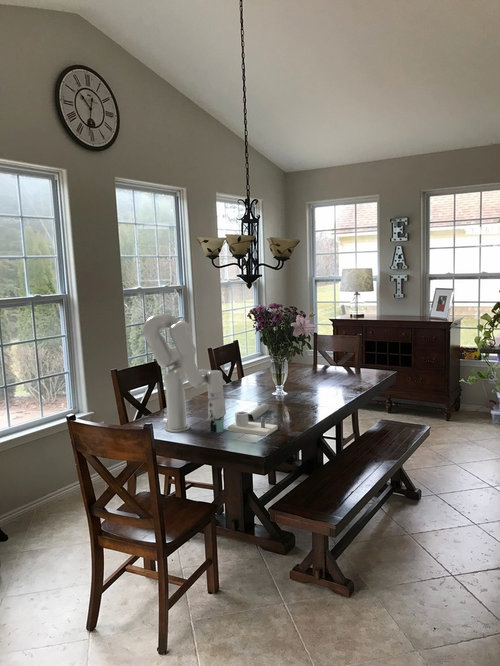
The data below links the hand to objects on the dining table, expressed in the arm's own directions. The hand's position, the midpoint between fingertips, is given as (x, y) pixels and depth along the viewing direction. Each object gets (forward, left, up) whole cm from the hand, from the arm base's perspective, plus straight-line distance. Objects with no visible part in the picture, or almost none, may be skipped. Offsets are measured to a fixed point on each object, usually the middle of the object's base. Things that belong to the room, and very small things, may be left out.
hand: (217, 429), depth 274 cm
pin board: (+16, +8, -1) cm, 18 cm away
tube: (+7, +31, -1) cm, 32 cm away
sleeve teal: (0, 0, -1) cm, 1 cm away
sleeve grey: (+10, +8, +1) cm, 13 cm away
